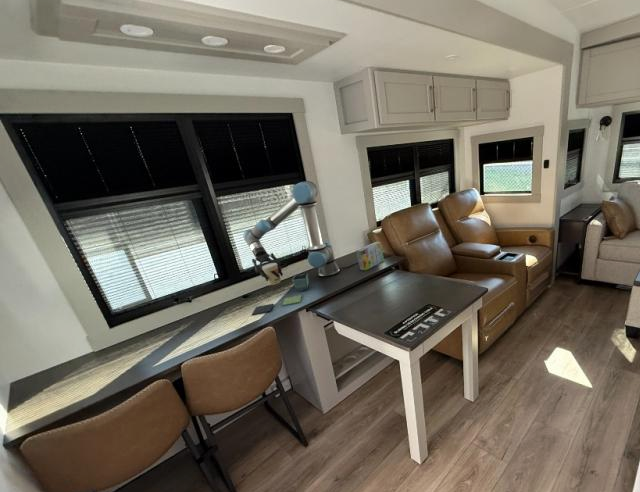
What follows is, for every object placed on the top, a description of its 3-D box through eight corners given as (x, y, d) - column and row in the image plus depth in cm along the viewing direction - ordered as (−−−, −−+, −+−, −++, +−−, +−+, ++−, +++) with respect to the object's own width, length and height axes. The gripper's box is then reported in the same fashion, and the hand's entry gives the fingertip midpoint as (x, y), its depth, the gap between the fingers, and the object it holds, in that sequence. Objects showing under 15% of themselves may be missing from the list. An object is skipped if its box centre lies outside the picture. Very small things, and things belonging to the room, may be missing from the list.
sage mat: (301, 296, 194) (301, 295, 194) (299, 302, 185) (299, 301, 185) (285, 299, 193) (284, 298, 193) (282, 306, 184) (282, 304, 184)
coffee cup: (277, 285, 197) (271, 267, 193) (264, 285, 199) (258, 268, 195) (285, 279, 206) (279, 262, 201) (272, 280, 208) (267, 263, 203)
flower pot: (311, 285, 209) (307, 273, 205) (309, 290, 201) (306, 277, 197) (297, 288, 208) (294, 275, 205) (295, 293, 200) (292, 280, 197)
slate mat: (273, 304, 188) (273, 303, 188) (270, 311, 179) (269, 310, 178) (256, 308, 187) (256, 306, 186) (252, 315, 178) (251, 314, 177)
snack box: (379, 260, 240) (375, 241, 234) (384, 261, 236) (381, 241, 231) (359, 270, 225) (355, 250, 219) (365, 271, 222) (361, 250, 216)
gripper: (274, 249, 213) (290, 274, 208) (241, 258, 201) (257, 286, 195) (274, 242, 207) (291, 268, 202) (241, 251, 195) (257, 280, 189)
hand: (274, 277), depth 199 cm, fingers closed on coffee cup, 9 cm apart
